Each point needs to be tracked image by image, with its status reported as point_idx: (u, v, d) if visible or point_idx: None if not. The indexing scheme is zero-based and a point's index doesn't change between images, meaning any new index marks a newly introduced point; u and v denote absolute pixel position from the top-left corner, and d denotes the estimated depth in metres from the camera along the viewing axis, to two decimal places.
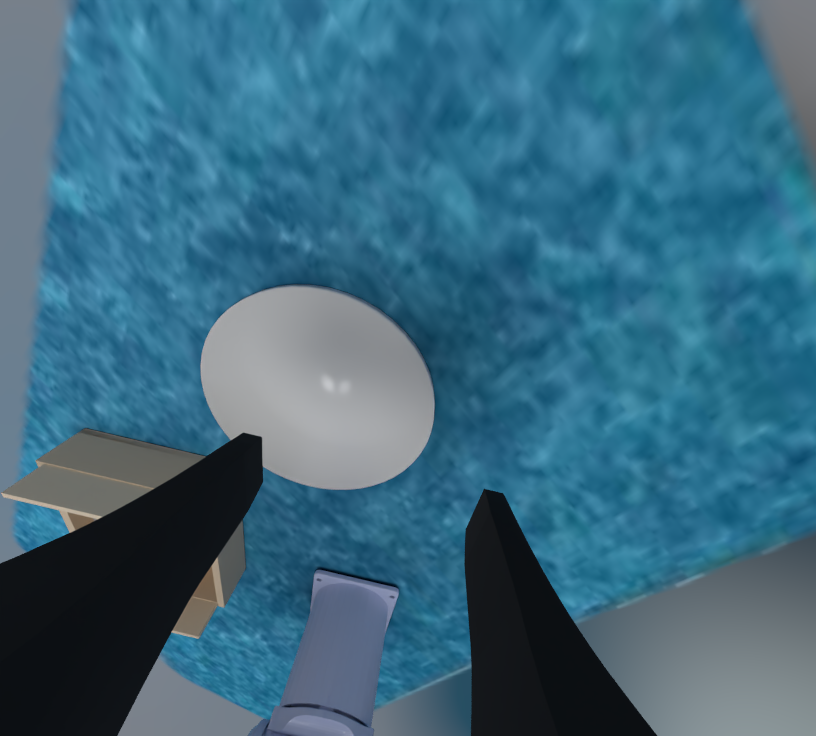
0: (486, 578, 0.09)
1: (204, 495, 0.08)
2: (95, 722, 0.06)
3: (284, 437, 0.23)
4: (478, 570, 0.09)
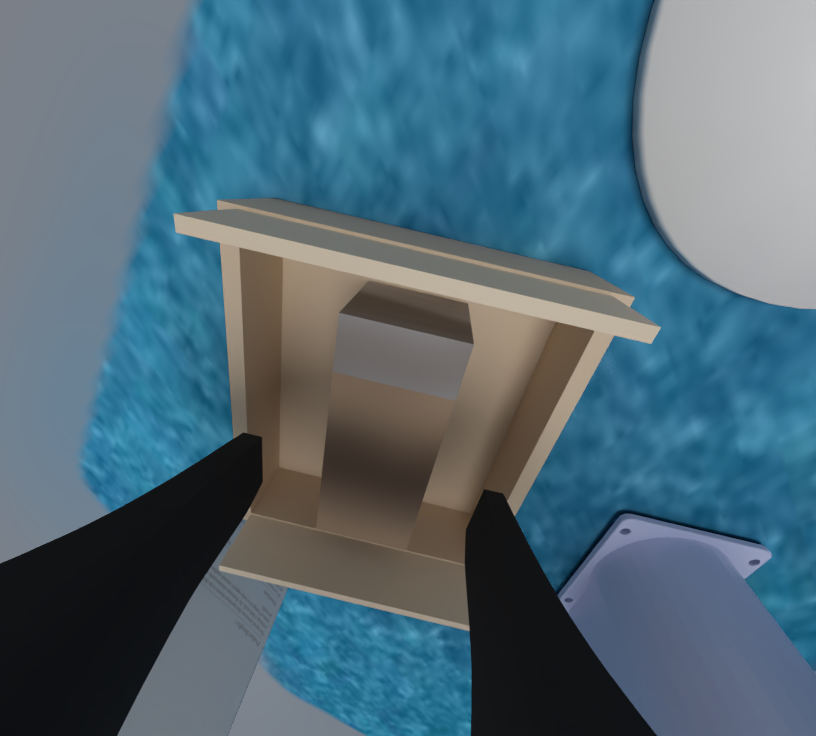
0: (486, 578, 0.09)
1: (204, 495, 0.08)
2: (95, 722, 0.06)
3: (806, 149, 0.10)
4: (478, 570, 0.09)
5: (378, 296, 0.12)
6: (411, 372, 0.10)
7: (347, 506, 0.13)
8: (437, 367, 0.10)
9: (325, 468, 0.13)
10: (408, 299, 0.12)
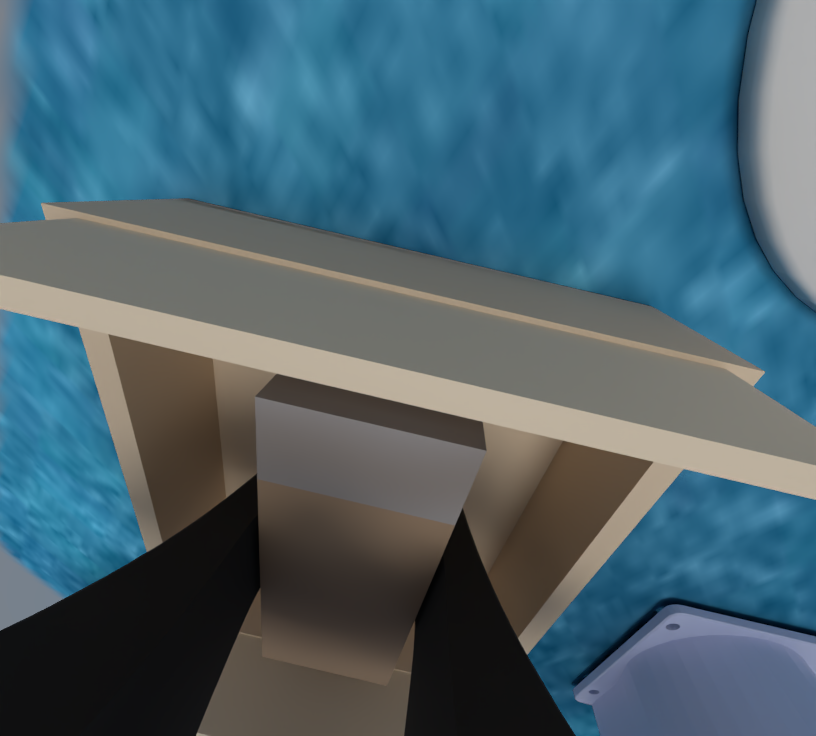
0: None
1: None
2: None
3: None
4: None
5: None
6: (382, 485, 0.06)
7: (301, 637, 0.09)
8: (425, 481, 0.06)
9: (264, 594, 0.09)
10: None
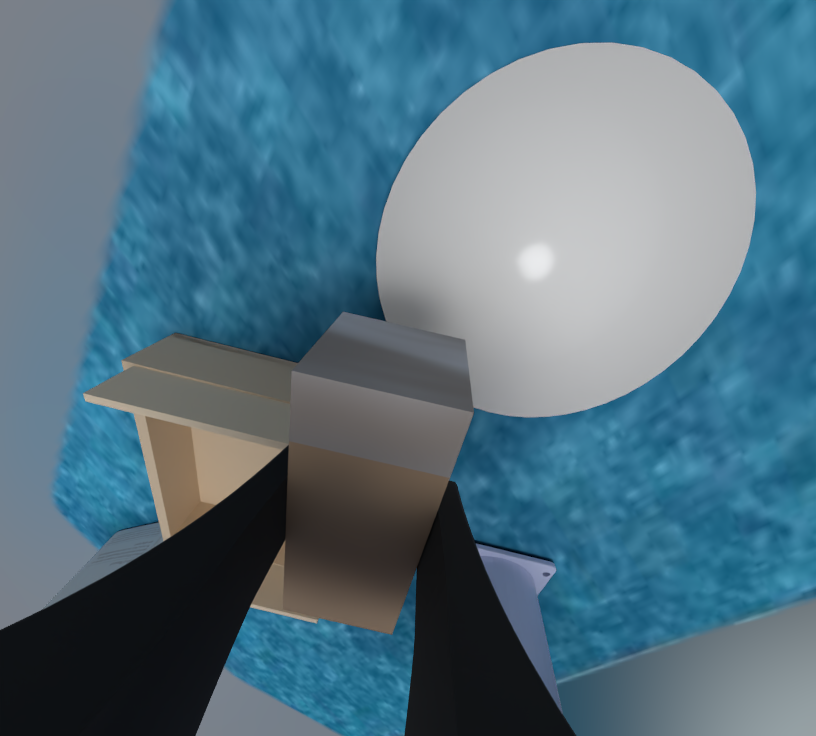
0: (429, 565, 0.09)
1: (266, 510, 0.08)
2: None
3: (478, 333, 0.16)
4: (425, 558, 0.09)
5: (351, 337, 0.09)
6: (391, 443, 0.08)
7: (318, 588, 0.11)
8: (425, 439, 0.08)
9: (288, 548, 0.10)
10: (390, 339, 0.10)
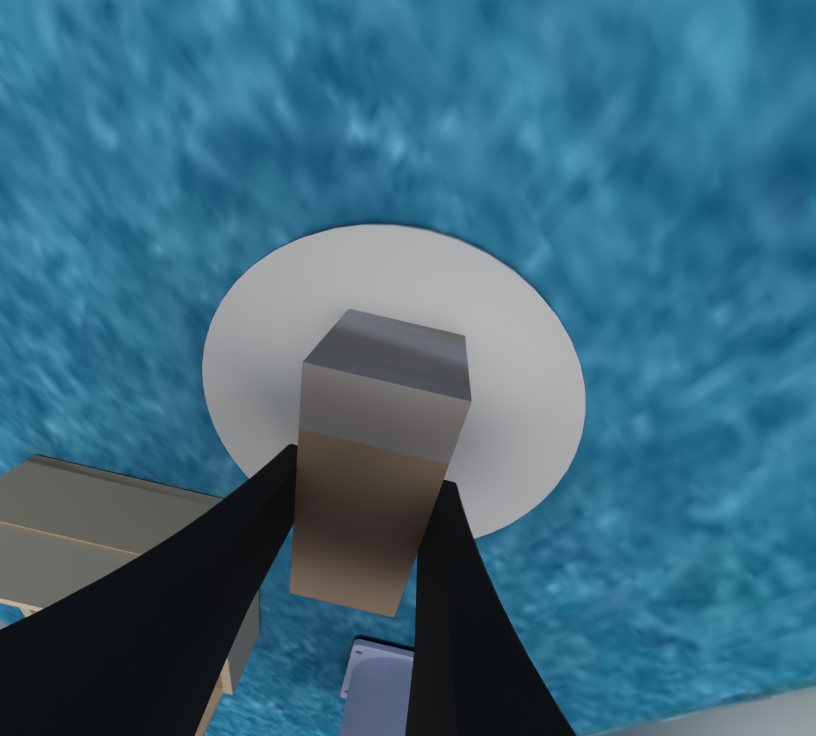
0: (429, 565, 0.09)
1: (265, 509, 0.08)
2: None
3: None
4: (425, 558, 0.09)
5: (357, 332, 0.10)
6: (394, 431, 0.08)
7: (324, 572, 0.12)
8: (426, 427, 0.08)
9: (296, 532, 0.11)
10: (393, 334, 0.10)
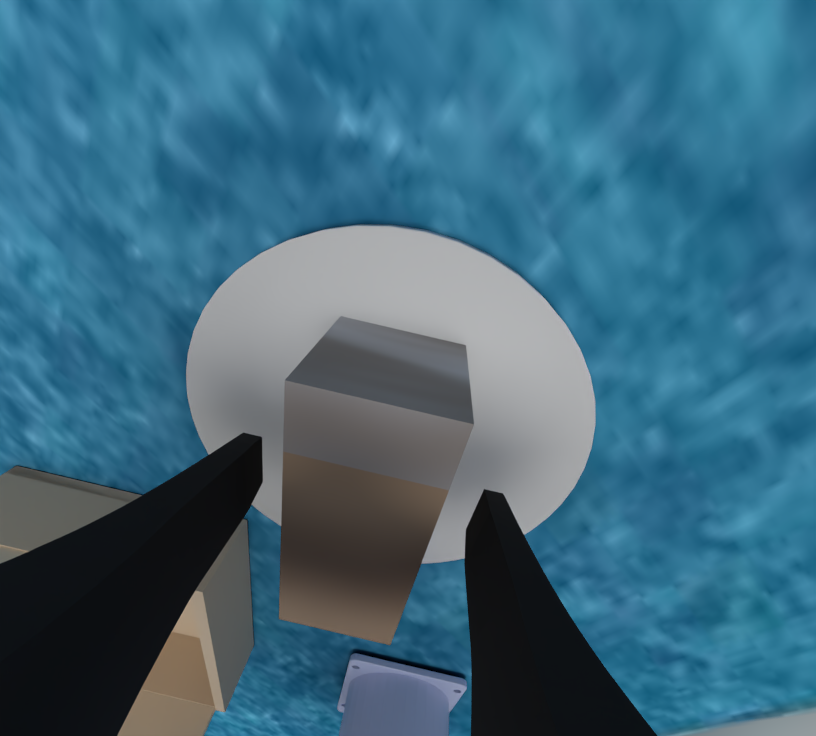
0: (486, 578, 0.09)
1: (204, 495, 0.08)
2: (95, 722, 0.06)
3: None
4: (478, 570, 0.09)
5: (348, 343, 0.09)
6: (388, 455, 0.07)
7: (315, 598, 0.11)
8: (423, 450, 0.07)
9: (283, 558, 0.10)
10: (388, 345, 0.09)
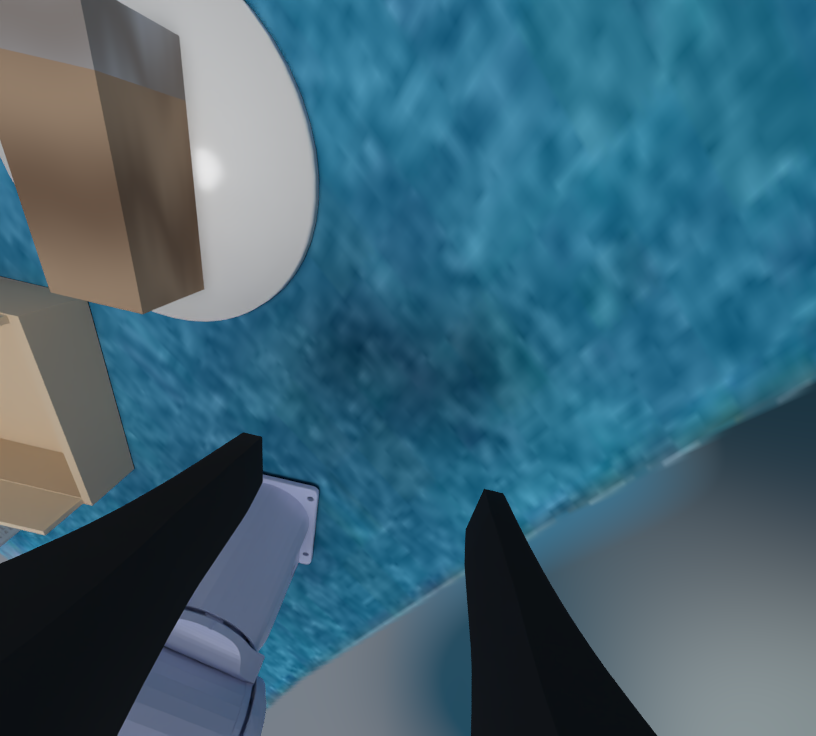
0: (486, 578, 0.09)
1: (204, 495, 0.08)
2: (95, 722, 0.06)
3: None
4: (478, 570, 0.09)
5: None
6: (37, 30, 0.10)
7: (64, 253, 0.13)
8: (57, 18, 0.10)
9: (21, 195, 0.12)
10: None
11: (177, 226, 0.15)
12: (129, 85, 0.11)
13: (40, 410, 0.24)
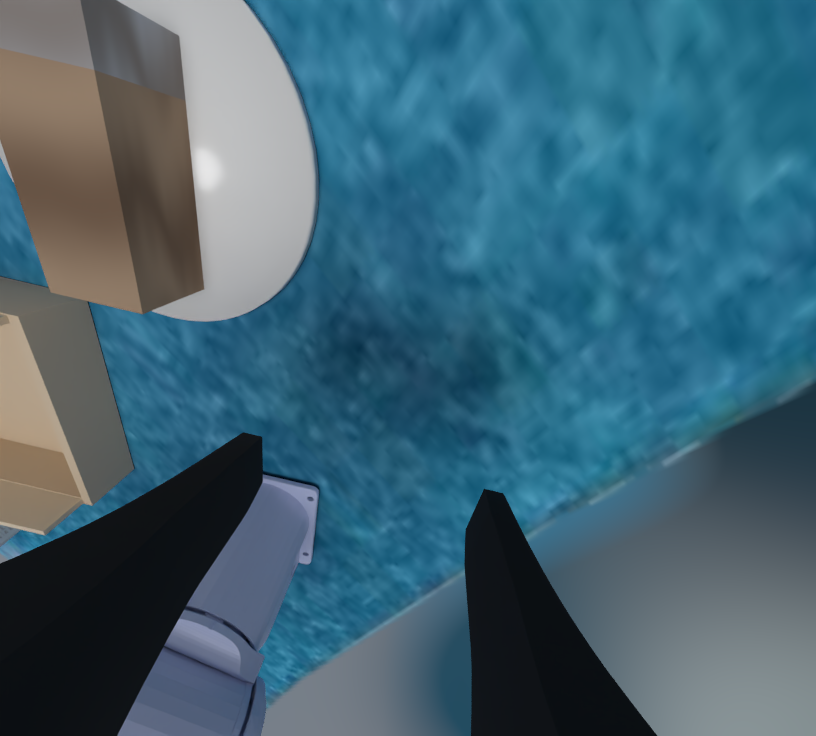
0: (486, 578, 0.09)
1: (204, 495, 0.08)
2: (95, 722, 0.06)
3: None
4: (478, 570, 0.09)
5: None
6: (37, 30, 0.10)
7: (64, 253, 0.13)
8: (57, 18, 0.10)
9: (20, 195, 0.12)
10: None
11: (177, 226, 0.15)
12: (129, 85, 0.11)
13: (40, 410, 0.24)
